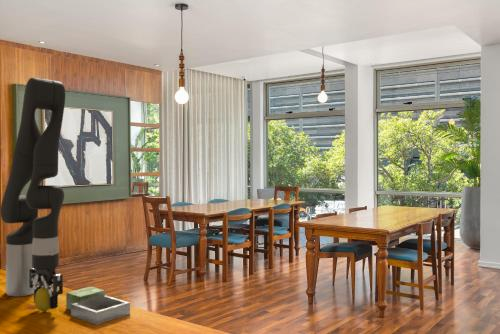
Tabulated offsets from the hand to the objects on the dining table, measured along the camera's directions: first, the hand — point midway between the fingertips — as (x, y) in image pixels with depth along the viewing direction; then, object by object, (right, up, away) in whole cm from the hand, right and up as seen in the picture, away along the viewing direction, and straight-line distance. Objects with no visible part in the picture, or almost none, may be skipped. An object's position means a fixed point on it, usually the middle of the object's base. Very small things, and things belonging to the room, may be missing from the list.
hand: (45, 305), depth 154 cm
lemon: (0, -2, 0) cm, 2 cm away
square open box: (+14, -2, +1) cm, 14 cm away
